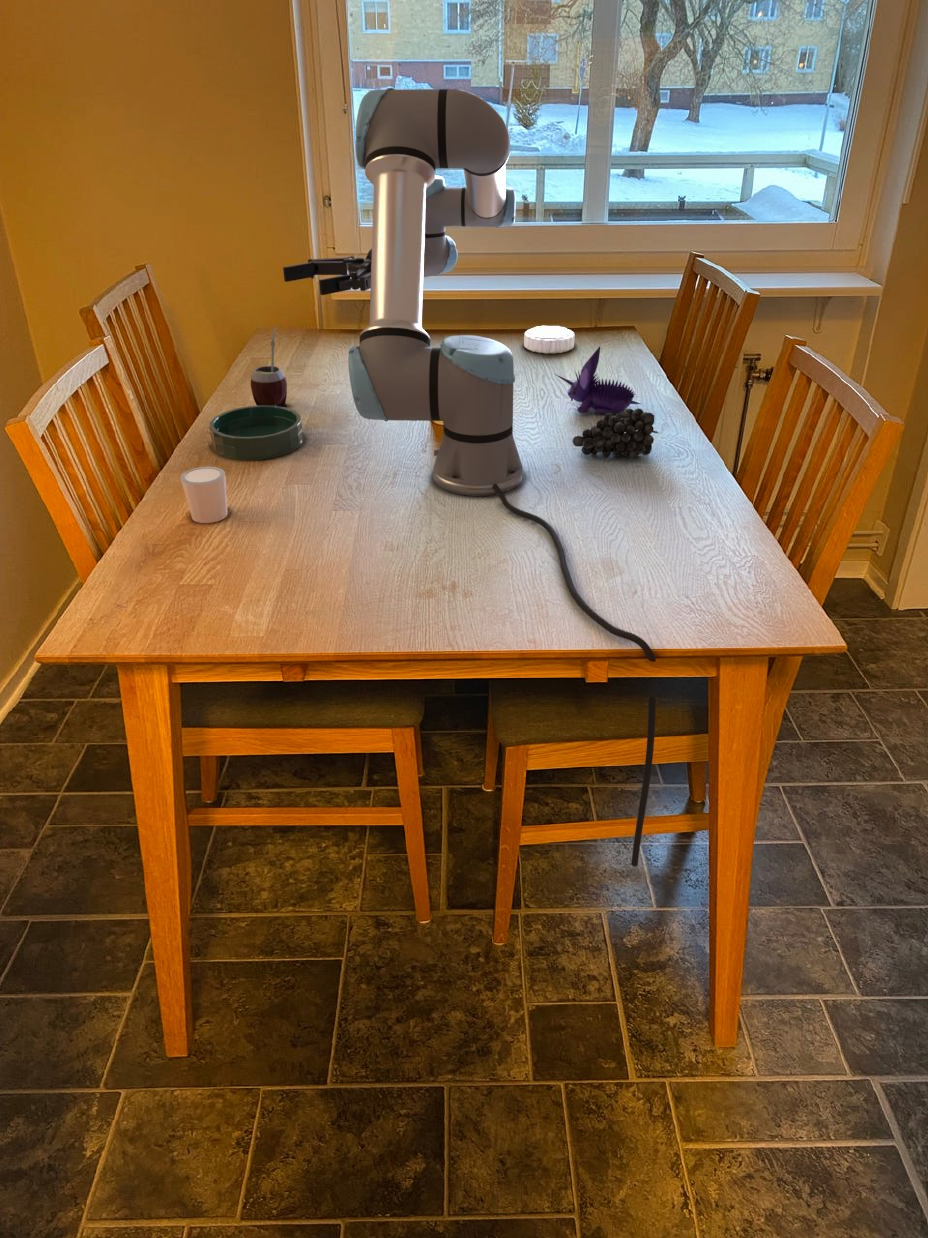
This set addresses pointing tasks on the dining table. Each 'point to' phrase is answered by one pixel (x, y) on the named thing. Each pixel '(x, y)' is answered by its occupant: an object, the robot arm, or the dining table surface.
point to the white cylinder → (205, 493)
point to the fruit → (619, 435)
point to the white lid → (549, 339)
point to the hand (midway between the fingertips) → (302, 280)
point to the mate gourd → (269, 383)
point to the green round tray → (256, 432)
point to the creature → (598, 391)
